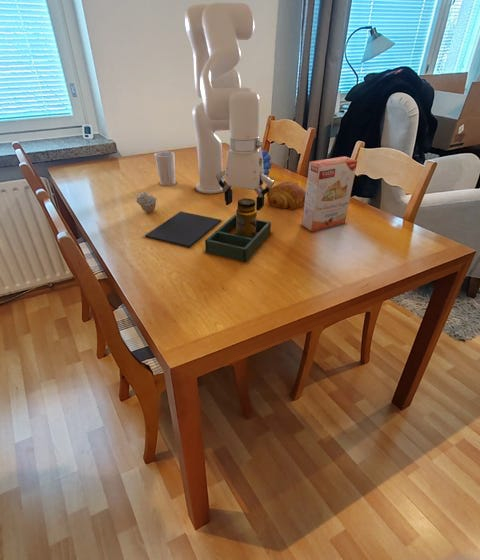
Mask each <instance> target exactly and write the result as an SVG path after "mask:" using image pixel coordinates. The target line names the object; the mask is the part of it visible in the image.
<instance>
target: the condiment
mask: <svg viewBox="0 0 480 560" xmlns="http://www.w3.org/2000/svg"><path fill="white" fill-rule="evenodd" d="M236 205H237V206H236V207H237V209H236V210H235V215H236V228H235V231H236V232H235V233H234V235H238V236H243V237H247V238H252V239H253V238H254V237H255V236H256V235H257V232H256V219H257V215H258V214H257V212H258V211H257V210H256V200H254V199H253V198H249V197H248V198H247V197H244V198H240V199H238V200H237V204H236Z"/></svg>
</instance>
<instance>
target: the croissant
mask: <svg viewBox="0 0 480 560" xmlns="http://www.w3.org/2000/svg"><path fill="white" fill-rule="evenodd" d="M305 195H306V189H305V188H303V187H302V186H300V185H299V184H298V183H296V182H292V181H283V182H279V183H277V184H275V185H273V186H272V188H271V189H270V191H268V192H267V193H266V197H267V202H268V204H269V205H270V206H273V207H274V208H275V207H276V208H281V209H282V208H283V209H288V210H294V209H297V208H300V207H302V206H304V203H305Z"/></svg>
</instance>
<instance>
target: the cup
mask: <svg viewBox="0 0 480 560" xmlns="http://www.w3.org/2000/svg"><path fill="white" fill-rule="evenodd" d="M154 159H155V163H156V169H157V174H158V178H159V184H160V185H161V186H166V187H167V186H173V185H175V184H176V165H175V164H176V163H175V160H176V159H175V152H174V151H167V150H165V151H164V150H163V151H158V152H155V153H154Z"/></svg>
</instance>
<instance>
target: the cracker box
mask: <svg viewBox="0 0 480 560" xmlns="http://www.w3.org/2000/svg"><path fill="white" fill-rule="evenodd" d="M357 166H358V161H357V160H356V159H354V158H351V157H348V156H338V157H333V158H327V159H319V160H312V161H309V164H308V171H307V179H306V188H305V191H306V195H305V203H304V204H303V213H302V219H301V226H303V227H304V228H306V229H307V230H308V231H310V232H316V231H320V230H324V229H327V228H328V229H329V228H331V227H332V228H333V227H335V226H340V225H344V224H345V223H346V220H347V215H348V209H349V205H350V200H351V196H352V195H351V194H352V190H353V185H354V179H355V176H356V175H355V174H356V170H357Z"/></svg>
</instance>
